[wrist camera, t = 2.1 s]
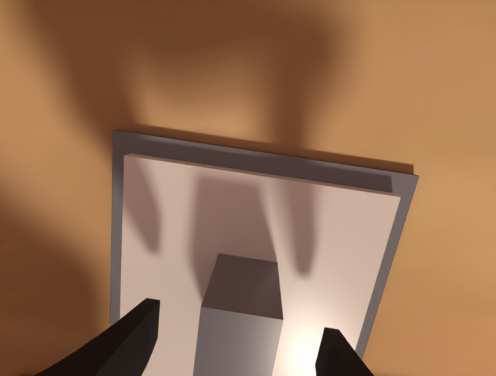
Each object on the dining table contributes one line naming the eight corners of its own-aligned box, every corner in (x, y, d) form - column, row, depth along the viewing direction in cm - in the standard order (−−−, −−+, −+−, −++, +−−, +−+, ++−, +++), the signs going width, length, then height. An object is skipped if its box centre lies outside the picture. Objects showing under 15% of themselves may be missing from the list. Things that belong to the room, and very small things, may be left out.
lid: (125, 361, 16) (70, 455, 12) (132, 153, 13) (61, 170, 9) (333, 395, 16) (362, 506, 12) (392, 192, 13) (465, 232, 8)
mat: (112, 365, 17) (109, 371, 17) (117, 129, 13) (113, 130, 13) (344, 404, 17) (346, 410, 16) (414, 174, 13) (419, 175, 13)
